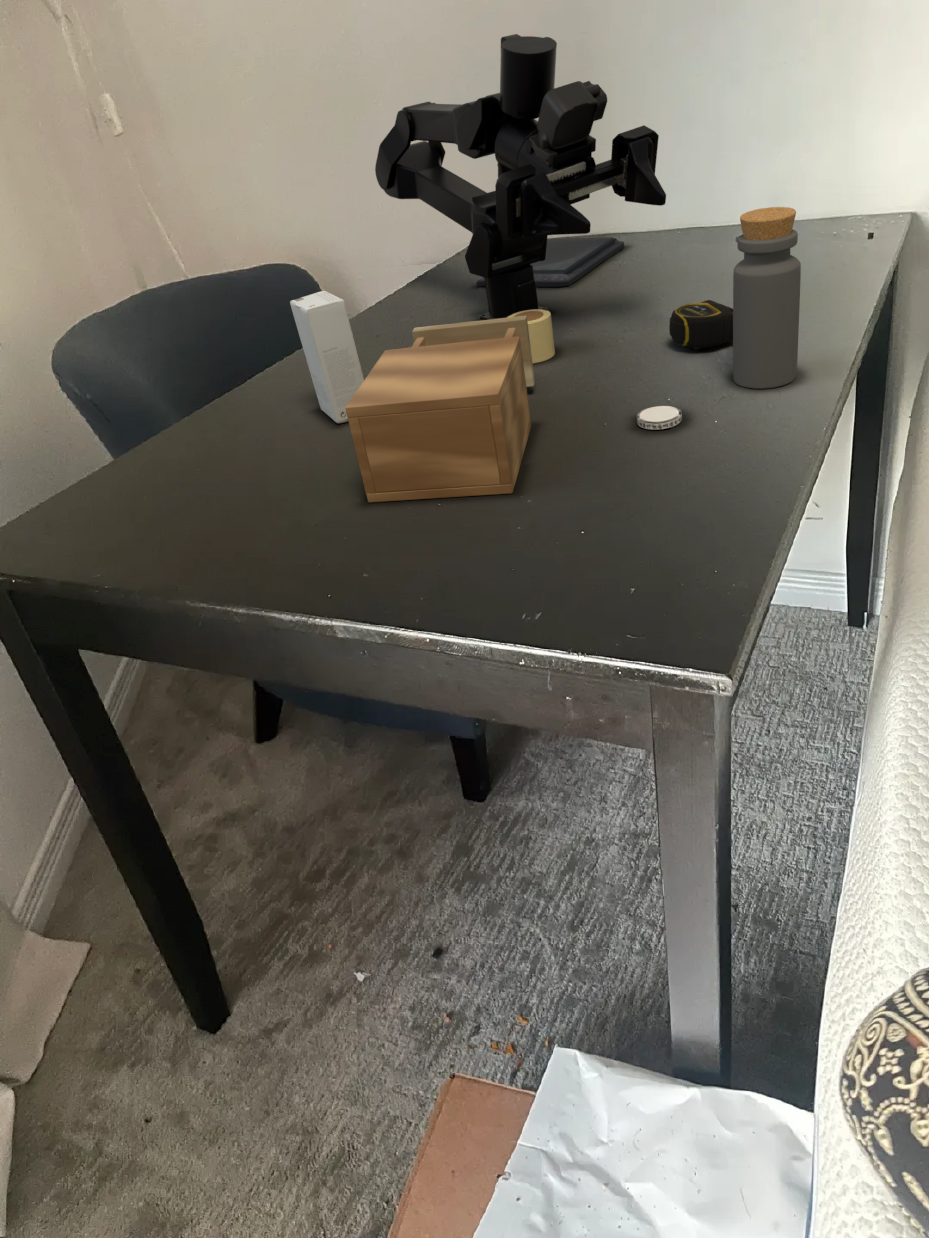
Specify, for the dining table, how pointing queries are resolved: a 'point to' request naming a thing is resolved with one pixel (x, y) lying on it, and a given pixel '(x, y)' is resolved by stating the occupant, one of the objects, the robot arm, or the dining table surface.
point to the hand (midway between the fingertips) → (627, 214)
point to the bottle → (766, 300)
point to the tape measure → (701, 324)
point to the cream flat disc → (659, 417)
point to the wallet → (571, 260)
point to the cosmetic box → (329, 351)
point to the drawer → (480, 336)
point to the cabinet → (442, 421)
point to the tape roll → (539, 333)
